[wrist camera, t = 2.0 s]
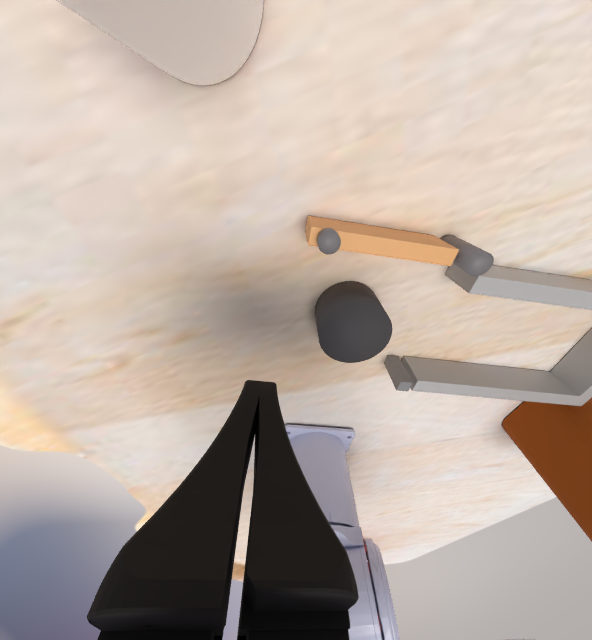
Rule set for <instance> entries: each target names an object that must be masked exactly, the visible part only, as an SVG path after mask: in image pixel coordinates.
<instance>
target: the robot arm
mask: <svg viewBox="0 0 592 640" xmlns="http://www.w3.org/2000/svg"><path fill="white" fill-rule="evenodd" d="M354 435H355V432H354V430H352V429H343V428H329V427H316V426H302V425H286V426H285V425H284V421H283V418H282V414H281V410H280V406H279V402H278V396H277V387H276V384H275V383H274V382H263V381H252V380H247V381H246V382H245V384H244V387H243V390H242V392H241V395H240V397H239V399H238V401H237V403H236V405H235V407H234V409H233V410H232V412H231V414H230V416H229V418H228V419H227V421H226V423H225V424H224V426H223V427H222V429H221V431H220V432H219V434H218V435H217V437H216V438H215V440H214V441H213V443H212V444H211V446H210V447H209V449H208V450H207V451H206V453H205V454H204V455H203V457H202V458H201V460H200V461H199V462H198V463H197V465H196V466H195V467H194V469H193V470H192V471H191V472H190V474H189V475H188V476H187V477H186V479H185V480H184V481H183V482H182V483H181V485H180V486H179V487H178V488H177V489H176V490H175V491H174V493H173V494H172V495H171V496H170V497H169V498H168V499H167V500H166V502H165V503H164V504H163V505H162V506H161V507H160V508H159V510H158V511H157V512H156V513H155V514H154V515H153V516H152V517H151V518H150V519H149V520H148V521H147V522H146V523H145V524H144V525H143V526H142V527H141V528H140V529H139V530H138V531H137V532H136V533H135V534H134V536H133V537H132V538H131V539H130V540H129V541H128V542H127V543H126V544H125V545H124V546H123V548H122V549H121V551H120V552H119V554H118V555H117V557H116V558H115V560H114V561H113V563H112V565H111V567H110V568H109V570H108V572H107V574H106V576H105V578H104V579H103V581H102V583H101V585H100V587H99V590H98V592H97V594H96V596H95V599H94V602H93V604H92V606H91V608H90V611H89V613H88V615H87V619H88V621H89V623H90V624H92V625H93V626H95V627H96V628H98V629H99V630H101V632H100V635H99V637H98V640H222V637H223V630H224V627H225V625H226V617H227V610H228V603H229V595H230V587H231V579H232V572H233V564H234V556H235V548H236V541H237V533H238V526H239V518H240V510H241V503H242V495H243V489H244V484H245V479H246V474H247V469H248V464H249V460H250V455H251V450H252V446H253V441H254V436H255V459H254V487H253V499H252V508H251V517H250V526H249V536H248V545H247V554H246V563H245V572H244V581H243V590H242V599H241V608H240V618H239V627H238V636H237V640H400V638H399V633H398V627H397V622H396V617H395V612H394V607H393V603H392V598H391V593H390V589H389V585H388V580H387V576H386V572H385V568H384V564H383V560H382V556H381V552H380V549H379V547H378V546H377V545H376V544H375V543H373V541H372V539H365V543H366V549H367V557H366V552H365V547H364V542H363V536H362V531H361V528H360V526H359V521H358V516H357V511H356V505H355V500H354V495H353V489H352V484H351V479H350V473H349V468H348V463H347V458H346V452H347V450H348V448H349V446H350V443H351V441H352V439H353V437H354ZM367 558H368V562H367ZM368 563H369V567H368ZM369 569H370V572H369ZM378 616H379V620H378ZM379 621H380V625H379ZM380 626H381V630H380ZM507 640H535V639H507Z"/></svg>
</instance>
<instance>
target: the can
mask: <svg viewBox="0 0 592 640" xmlns="http://www.w3.org/2000/svg"><path fill="white" fill-rule="evenodd" d="M57 1H58V2H60V3H61V4H63V5H64V6H66V7H67V8H69V9H70V10H72V11H73V12H75V13H76V14H78V15H79V16H81V17H82V18H84V19H85V20H87V21H88V22H90V23H91V24H93V25H94V26H96V27H97V28H99V29H100V30H102V31H103V32H105V33H106V34H108V35H109V36H111V37H112V38H114V39H115V40H117V41H118V42H120V43H121V44H123V45H125V46H126V47H128V48H129V49H131V50H132V51H134V52H135V53H137V54H138V55H140V56H141V57H143V58H144V59H146V60H147V61H149V62H150V63H152V64H154V65H155V66H157V67H158V68H160V69H161V70H163V71H164V72H166V73H168V74H169V75H171V76H173V77H175V78H177V79H179V80H181V81H184V82H187V83H190V84H194V85H212V84H217V83H220V82H222V81H224V80H226V79H228V78H229V77H231V76H232V75H234V74H235V73H236V72H237V71H238V70H239V69H240V68H241V67H242V66H243V64H244V63H245V62H246V60H247V59H248V57H249V55H250V53H251V52H252V49H253V47H254V45H255V42H256V40H257V37H258V33H259V29H260V25H261V20H262V13H263V1H264V0H57Z"/></svg>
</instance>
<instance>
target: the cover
mask: <svg viewBox="0 0 592 640" xmlns="http://www.w3.org/2000/svg"><path fill="white" fill-rule="evenodd" d="M305 232H306V237H307V242H308V245H310V246H316V247H319V249H320V251H321V252H323V253H324V254H333V253H335V252H336V251H337V250H344V251H350V252H357V253H364V254H371V255H378V256H385V257H391V258H398V259H405V260H412V261H419V262H425V263H432V264H439V265H446V266H451V265H452V263H453V264H455V265H456V266H458V267H459V268H461V269H462V270H464V271H465V272H467V273H468V274H470V275H472V276H480V275H482V274H484V273H486V272H487V271H488V270H489V269H490V268H491V266H492V265H493V261H494V259H493V256H492V255H491V254H490V253H488V252H486V251H484V250H482V249H480V248H478V247H476V246H474V245H472V244H470V243H468V242H466V241H463V240H461V239H459V238H457V237H455V236H453V235H448V236H445V237H444V238H442V239H439V238H437V237H436V236H433V235H427V234H421V233H414V232H408V231H402V230H395V229H389V228H383V227H376V226H370V225H364V224H358V223H351V222H345V221H339V220H332V219H326V218H320V217H313V216H308V219H307V225H306V231H305Z"/></svg>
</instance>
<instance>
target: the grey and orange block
mask: <svg viewBox="0 0 592 640" xmlns="http://www.w3.org/2000/svg"><path fill="white" fill-rule="evenodd" d="M502 426H503V428H504V430H505V431H506V432H507V434H508V435H509V436H510V438H511V439H512V440H513V441H514V443H515V444H516V445H517V446H518V448H519V449H520V450H521V452H522V453H523V454H524V455H525V457H526V458H527V459H528V461H529V462H530V463H531V464H532V466H533V467H534V468H535V469H536V471H537V472H538V473H539V475H540V476H541V477H542V478H543V480H544V481H545V482H546V484H547V485H548V486H549V487H550V489H551V490H552V491H553V492H554V494H555V495H556V496H557V497H558V499H559V500H560V501H561V503H562V504H563V505H564V507H565V508H566V509H567V510H568V512H569V513H570V514H571V515H572V517H573V518H574V519H575V521H576V522H577V523H578V524H579V526H580V527H581V528H582V529H583V531H584V532H585V533H586V535H587V536H588V537H589V538H590V540H591V541H592V398H590V399H589V400H588V401H587V402H586V403H585V404H583V405H582V406H574V405H563V404H552V403H541V402H530V401H524V402H523V403H522V404H521V405H520V406H519V407H518V408H516V409H515V410H514V411H513V412H512V413H511V414H510V415H508V416H507V417H506V418H505V419H504V421H503V424H502Z"/></svg>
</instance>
